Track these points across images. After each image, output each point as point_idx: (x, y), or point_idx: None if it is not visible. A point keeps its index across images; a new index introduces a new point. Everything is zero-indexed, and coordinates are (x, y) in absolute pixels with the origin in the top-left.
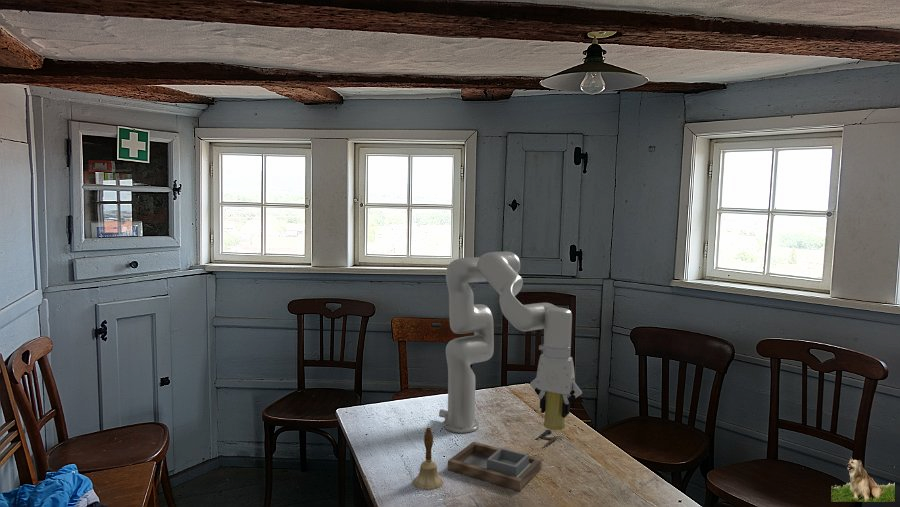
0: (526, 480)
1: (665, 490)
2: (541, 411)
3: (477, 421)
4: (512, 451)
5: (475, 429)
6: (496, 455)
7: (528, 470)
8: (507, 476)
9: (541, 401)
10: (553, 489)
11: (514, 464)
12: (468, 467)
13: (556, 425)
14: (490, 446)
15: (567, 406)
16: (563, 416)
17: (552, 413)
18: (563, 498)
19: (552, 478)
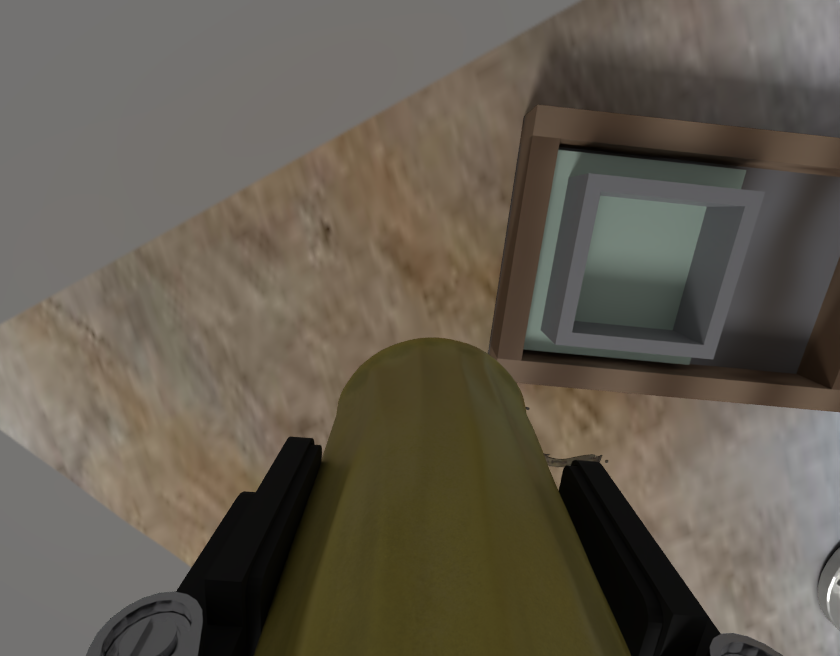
0: (516, 193)
1: (6, 404)
2: (595, 466)
3: (838, 623)
4: (645, 344)
5: (829, 565)
6: (717, 277)
7: (525, 239)
8: (611, 124)
9: (680, 582)
10: (392, 210)
11: (603, 303)
12: (827, 137)
13: (387, 368)
14: (754, 399)
15: (198, 575)
16: (299, 441)
17: (435, 420)
18: (331, 150)
19: (422, 303)
